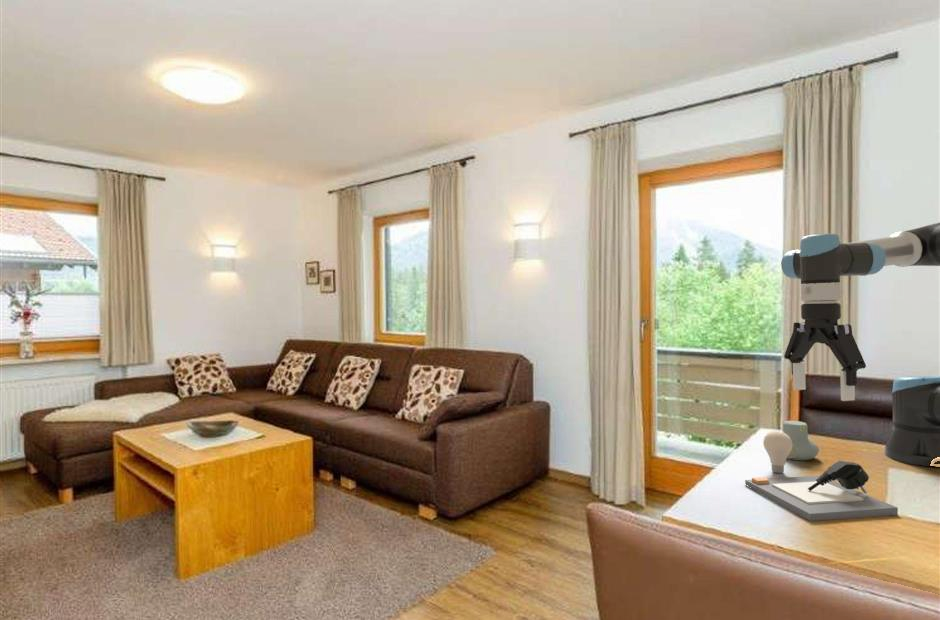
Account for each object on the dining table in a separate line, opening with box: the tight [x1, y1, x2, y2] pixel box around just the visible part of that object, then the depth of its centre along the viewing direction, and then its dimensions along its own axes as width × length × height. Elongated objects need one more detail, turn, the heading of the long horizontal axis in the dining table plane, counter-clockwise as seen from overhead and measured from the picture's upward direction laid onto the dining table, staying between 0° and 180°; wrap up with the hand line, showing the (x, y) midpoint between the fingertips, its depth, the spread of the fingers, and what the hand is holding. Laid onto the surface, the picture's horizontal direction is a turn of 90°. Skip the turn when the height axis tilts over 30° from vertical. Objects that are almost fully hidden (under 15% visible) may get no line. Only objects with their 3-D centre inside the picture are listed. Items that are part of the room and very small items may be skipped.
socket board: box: [744, 474, 899, 522], centre depth 116 cm, size 20×20×2 cm
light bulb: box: [762, 430, 793, 474], centre depth 133 cm, size 7×7×11 cm
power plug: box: [808, 460, 870, 494], centre depth 115 cm, size 6×8×12 cm
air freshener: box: [782, 420, 820, 461], centre depth 146 cm, size 11×8×10 cm
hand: (822, 394), depth 119 cm, fingers open, 13 cm apart
